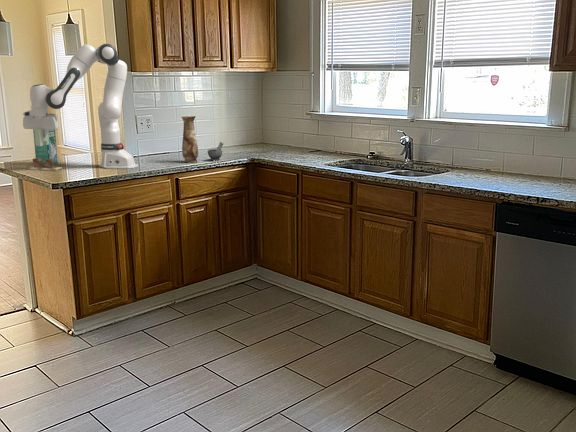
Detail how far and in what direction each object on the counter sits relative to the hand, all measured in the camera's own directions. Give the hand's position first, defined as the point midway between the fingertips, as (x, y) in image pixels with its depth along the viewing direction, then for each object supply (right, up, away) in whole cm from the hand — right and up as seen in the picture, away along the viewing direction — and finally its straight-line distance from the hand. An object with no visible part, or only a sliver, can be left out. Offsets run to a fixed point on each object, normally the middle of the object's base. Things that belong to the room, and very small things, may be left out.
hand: (41, 137), depth 330 cm
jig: (0, -18, +4) cm, 19 cm away
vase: (+79, -11, +41) cm, 90 cm away
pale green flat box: (0, -4, +1) cm, 5 cm away
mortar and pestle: (+95, -9, +51) cm, 108 cm away
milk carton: (-7, -13, +24) cm, 29 cm away
